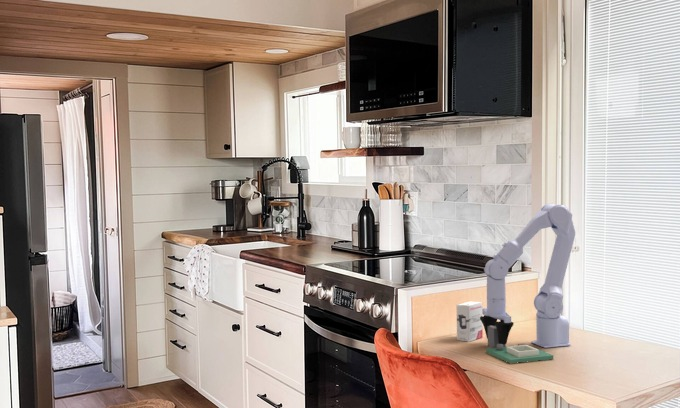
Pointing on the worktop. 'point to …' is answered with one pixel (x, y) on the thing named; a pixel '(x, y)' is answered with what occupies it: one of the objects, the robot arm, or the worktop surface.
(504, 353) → the board
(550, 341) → the robot arm
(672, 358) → the worktop surface
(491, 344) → the plug
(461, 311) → the ink box
